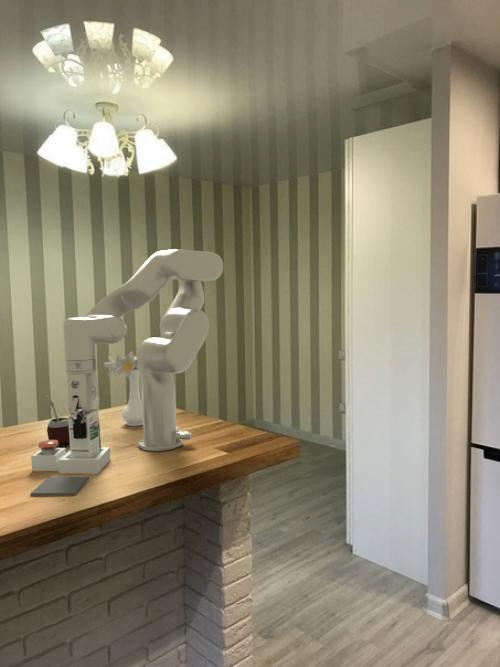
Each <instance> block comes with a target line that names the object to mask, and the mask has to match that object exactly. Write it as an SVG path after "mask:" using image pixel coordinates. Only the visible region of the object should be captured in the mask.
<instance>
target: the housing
mask: <svg viewBox="0 0 500 667" xmlns="http://www.w3.org/2000/svg"><path fill="white" fill-rule="evenodd" d="M30 457H31V458H30V459H31V471H32V472H58V473H59V474H67V475H68V474H99V473H101V471H102V470H103V469H104V468H105V467H106V466H107V464H108V463H110V461H111V447H110V446H109V447H108V446H106V447H105V446H103V447H102V446H101V452H100V453H99V454H98V455H97V456H96V457H95V458H71V451H70V450H68V451H67V449H66V447H62V448H58V447H56V453H55V454H54V455H42V454H41V448H39V450H37V451H36V452H34V454H32V455H31V456H30Z"/></svg>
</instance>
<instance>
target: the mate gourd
mask: <svg viewBox="0 0 500 667" xmlns="http://www.w3.org/2000/svg"><path fill="white" fill-rule="evenodd" d="M44 397H45V398H46V399H47V400H48V401H49V403H50V407H52V408H51V409H52V410H53V414H54V416H55V418H53V419H51V420H50V421H49V422H48V424H47V427H46V432H47V439H48V440H57V441H58V446H56V448H65V447H70V438H69V424H68V417H58V414H57V411H56V408H55V403H54V402H53V400H52V399H51V398H50V397H49V396H48V395H47V394H44Z"/></svg>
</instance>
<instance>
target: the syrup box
mask: <svg viewBox="0 0 500 667" xmlns="http://www.w3.org/2000/svg"><path fill="white" fill-rule="evenodd" d="M94 409H95V408H94ZM94 409H92V410H90V411H89V412H86V411H85V421H84V423H86V432H87V437H86V438H85V439H74V437H73V424H72V417H71V415H70V413H69V414H68V415H67V418H68V424H69V438H70V446H69V447H70V448H69V449H70V450H69V451H71V458H95V457H96V456H97V455H98V454H99V453H100V452H101V447H102V446H101V445H102V442H101V427H100V415H99V414H100V412H99V410H98V409H95V410H94ZM81 410H82V409H77V411H81ZM79 415H80V416H81V414H79Z"/></svg>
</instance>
